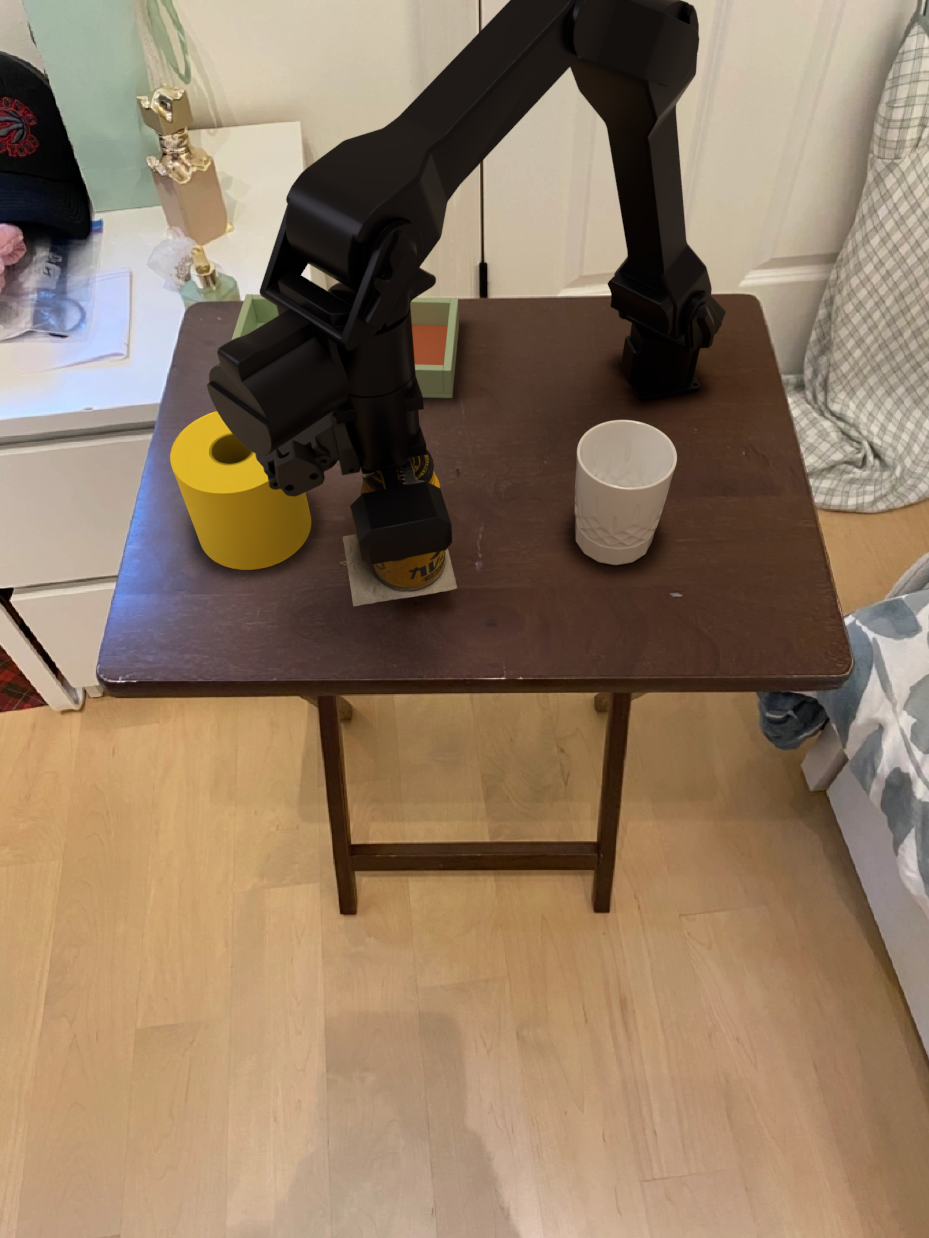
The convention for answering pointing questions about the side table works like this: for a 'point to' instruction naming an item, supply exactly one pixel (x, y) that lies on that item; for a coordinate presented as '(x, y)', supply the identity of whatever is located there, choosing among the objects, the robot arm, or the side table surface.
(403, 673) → the side table surface
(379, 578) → the condiment
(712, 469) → the side table surface
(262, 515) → the yellow toilet paper roll
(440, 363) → the holder
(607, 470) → the white cup
